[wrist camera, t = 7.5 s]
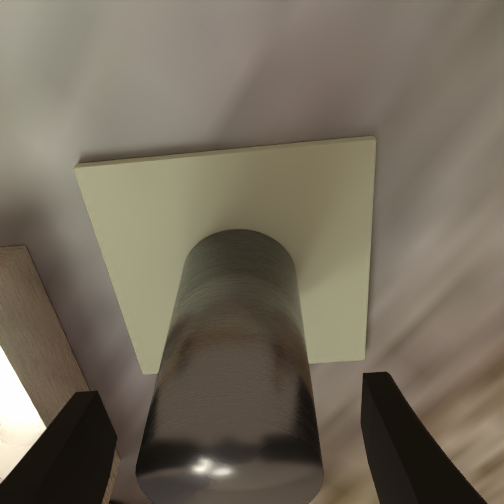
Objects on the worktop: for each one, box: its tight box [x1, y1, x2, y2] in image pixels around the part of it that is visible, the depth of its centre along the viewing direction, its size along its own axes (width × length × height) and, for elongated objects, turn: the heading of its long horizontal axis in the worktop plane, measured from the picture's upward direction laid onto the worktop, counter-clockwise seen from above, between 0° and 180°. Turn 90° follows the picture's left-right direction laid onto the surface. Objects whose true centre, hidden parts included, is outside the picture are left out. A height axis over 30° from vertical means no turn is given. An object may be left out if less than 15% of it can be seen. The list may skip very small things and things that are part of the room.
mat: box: [73, 135, 376, 375], centre depth 17 cm, size 10×10×1 cm
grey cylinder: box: [136, 229, 324, 504], centre depth 14 cm, size 4×4×8 cm
